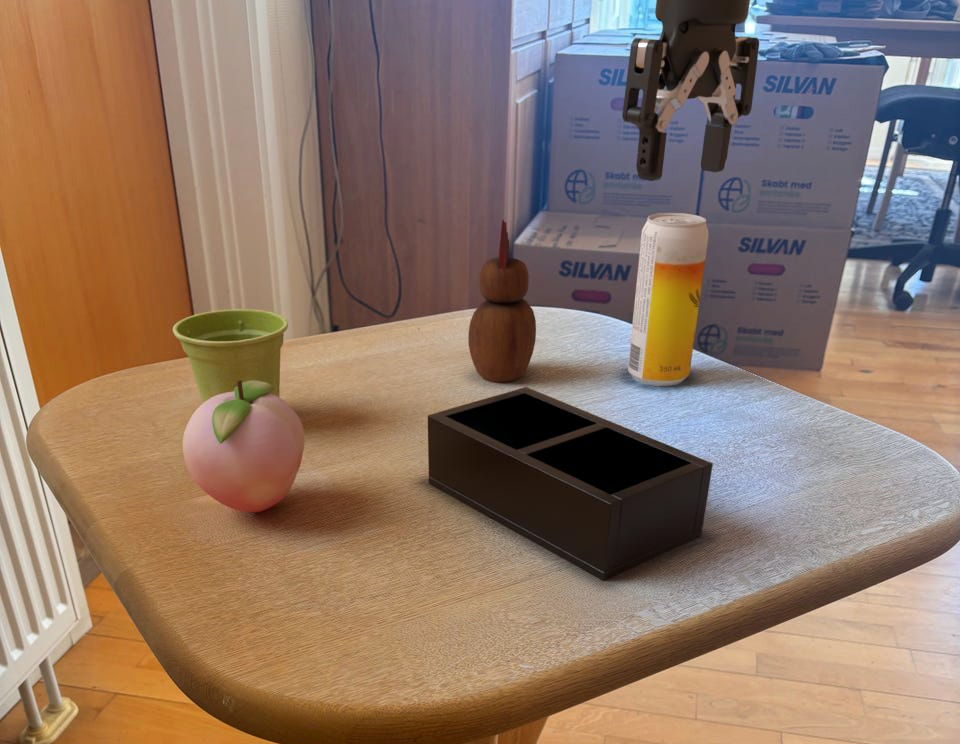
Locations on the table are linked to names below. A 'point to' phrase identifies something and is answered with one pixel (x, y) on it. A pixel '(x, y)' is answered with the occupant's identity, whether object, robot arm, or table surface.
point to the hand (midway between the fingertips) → (681, 175)
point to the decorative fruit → (244, 447)
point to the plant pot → (232, 348)
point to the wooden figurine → (502, 318)
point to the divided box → (569, 479)
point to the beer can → (667, 297)
